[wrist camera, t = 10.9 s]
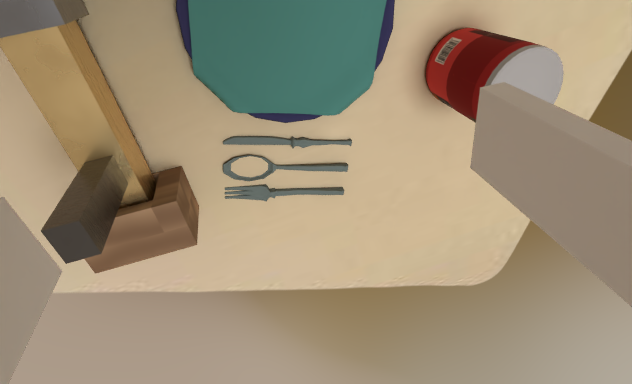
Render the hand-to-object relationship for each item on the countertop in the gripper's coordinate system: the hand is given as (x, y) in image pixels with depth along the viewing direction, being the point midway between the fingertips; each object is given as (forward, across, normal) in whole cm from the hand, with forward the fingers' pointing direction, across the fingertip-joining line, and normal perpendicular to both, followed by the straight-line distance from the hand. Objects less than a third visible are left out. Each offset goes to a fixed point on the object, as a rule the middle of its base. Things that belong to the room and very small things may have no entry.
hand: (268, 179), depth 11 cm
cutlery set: (+29, +4, -6) cm, 30 cm away
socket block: (+28, -14, -16) cm, 35 cm away
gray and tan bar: (+28, -14, -4) cm, 32 cm away
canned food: (+28, +23, -9) cm, 38 cm away
